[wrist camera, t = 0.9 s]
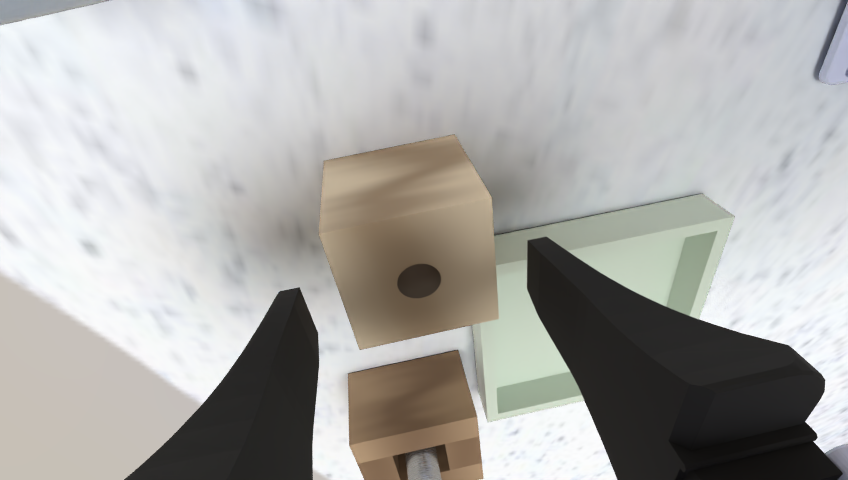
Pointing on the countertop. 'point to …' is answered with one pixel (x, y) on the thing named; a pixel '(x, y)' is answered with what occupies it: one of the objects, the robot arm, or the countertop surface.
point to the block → (409, 240)
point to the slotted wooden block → (414, 418)
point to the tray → (615, 258)
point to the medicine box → (37, 8)
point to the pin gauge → (423, 464)
